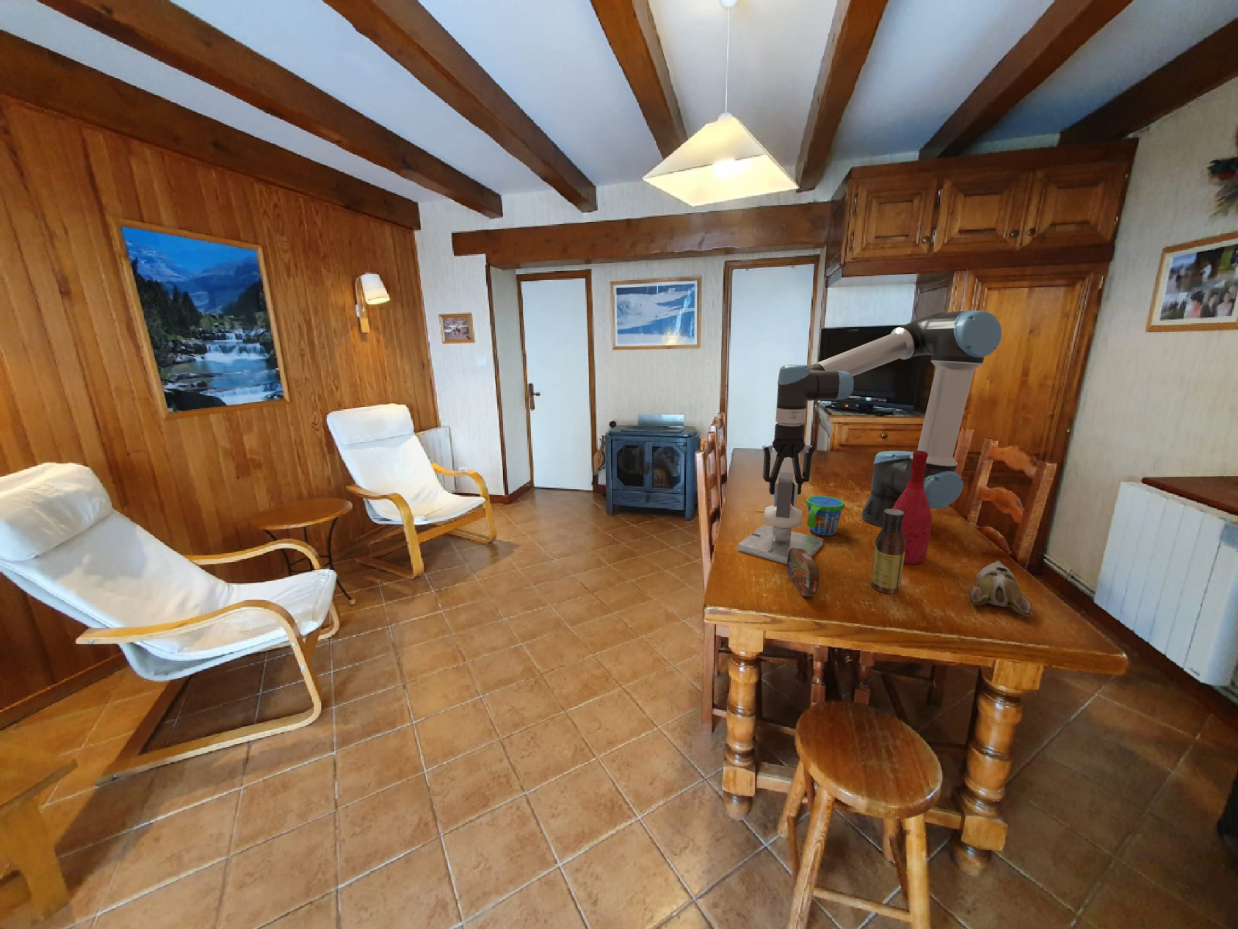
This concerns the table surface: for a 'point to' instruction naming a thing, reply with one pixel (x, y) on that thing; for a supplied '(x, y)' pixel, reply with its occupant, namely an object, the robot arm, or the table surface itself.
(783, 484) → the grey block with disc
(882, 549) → the sauce bottle
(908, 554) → the wine bottle
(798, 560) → the tin
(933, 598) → the table surface
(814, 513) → the snack cup
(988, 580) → the ceramic sculpture
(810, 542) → the base
